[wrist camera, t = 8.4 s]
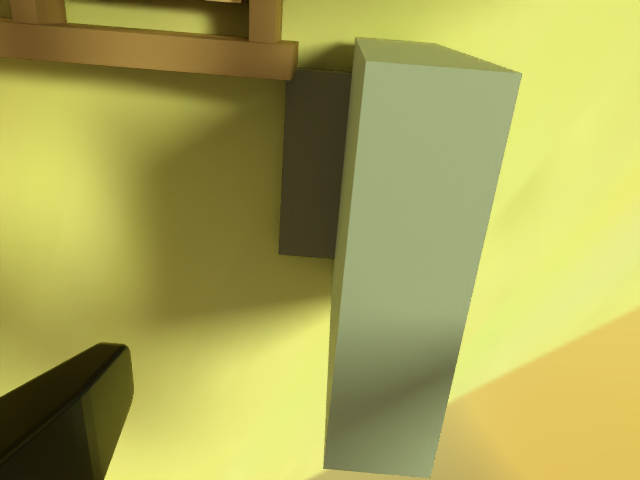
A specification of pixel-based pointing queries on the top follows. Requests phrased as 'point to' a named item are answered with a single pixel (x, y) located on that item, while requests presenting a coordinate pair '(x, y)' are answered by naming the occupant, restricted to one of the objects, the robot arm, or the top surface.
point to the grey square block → (408, 245)
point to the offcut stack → (233, 0)
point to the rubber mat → (313, 161)
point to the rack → (150, 43)
